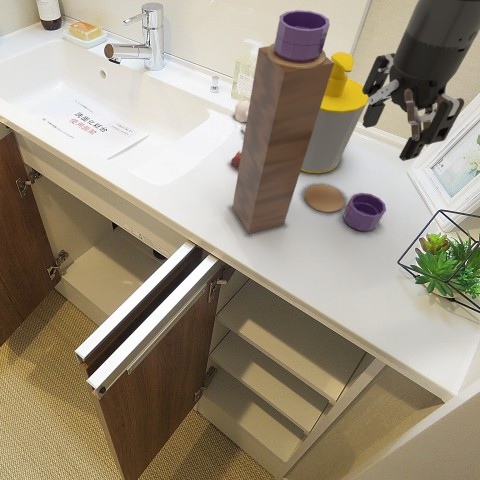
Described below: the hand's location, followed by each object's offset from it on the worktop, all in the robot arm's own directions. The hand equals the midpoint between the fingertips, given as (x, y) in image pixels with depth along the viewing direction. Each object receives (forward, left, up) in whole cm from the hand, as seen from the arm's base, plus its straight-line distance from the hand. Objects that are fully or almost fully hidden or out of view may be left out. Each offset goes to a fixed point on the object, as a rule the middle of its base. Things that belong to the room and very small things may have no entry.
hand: (386, 141), depth 62 cm
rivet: (+27, +6, -17) cm, 33 cm away
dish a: (+6, +15, +13) cm, 21 cm away
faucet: (+28, +3, -19) cm, 34 cm away
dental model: (+20, +10, -17) cm, 28 cm away
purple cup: (-1, -2, -17) cm, 17 cm away
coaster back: (+6, +1, -17) cm, 18 cm away
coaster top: (+6, +15, +13) cm, 21 cm away
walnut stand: (+6, +15, -17) cm, 24 cm away
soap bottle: (+18, -3, -17) cm, 25 cm away
